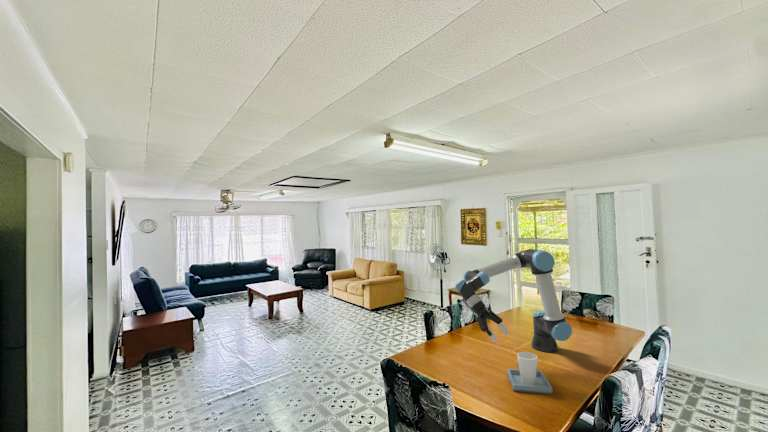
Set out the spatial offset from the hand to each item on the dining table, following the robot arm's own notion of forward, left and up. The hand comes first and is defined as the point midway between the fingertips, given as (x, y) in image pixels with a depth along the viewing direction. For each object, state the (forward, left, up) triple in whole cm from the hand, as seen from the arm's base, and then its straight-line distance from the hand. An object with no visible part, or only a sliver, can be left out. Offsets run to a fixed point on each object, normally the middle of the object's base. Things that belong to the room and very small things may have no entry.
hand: (502, 337), depth 167 cm
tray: (-10, +10, -19) cm, 24 cm away
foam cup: (-10, +10, -18) cm, 23 cm away
